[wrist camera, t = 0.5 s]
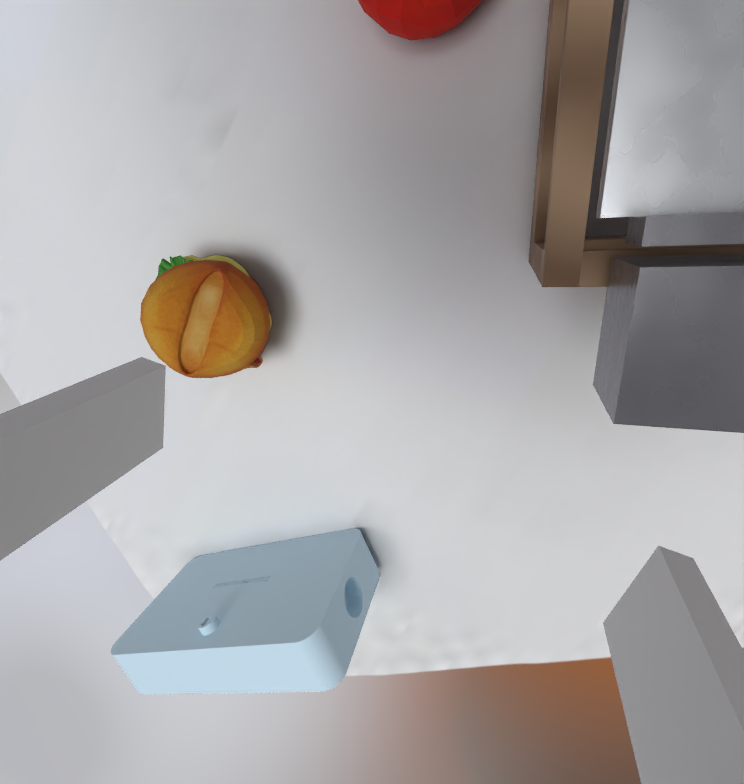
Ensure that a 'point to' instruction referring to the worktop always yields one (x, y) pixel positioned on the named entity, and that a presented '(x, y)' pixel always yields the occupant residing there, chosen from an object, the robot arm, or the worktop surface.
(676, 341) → the trapdoor
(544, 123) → the frame
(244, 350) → the cheeseburger
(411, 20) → the tomato
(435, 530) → the worktop surface
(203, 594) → the light blue box
